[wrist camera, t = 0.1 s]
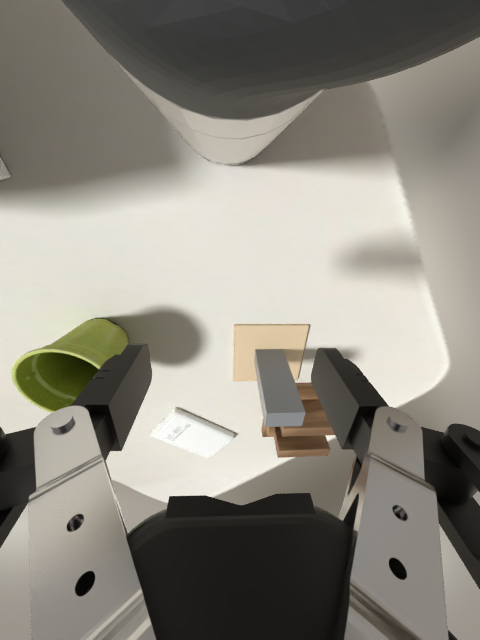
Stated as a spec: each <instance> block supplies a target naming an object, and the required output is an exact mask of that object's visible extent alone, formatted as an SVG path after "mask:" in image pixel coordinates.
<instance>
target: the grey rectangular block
mask: <svg viewBox="0 0 480 640" xmlns="http://www.w3.org/2000/svg"><path fill="white" fill-rule="evenodd" d="M254 363H255V369H256V375H257V382H258V388H259V394H260V400H261V406H262V412H263V418H264V425H265V427H281V426H302V424H303V420H304V416H305V413H306V412H305V409H304V406H303V404H302V401H301V398H300V395H299V392H298V389H297V387H296V384H295V381H294V378H293V375H292V372H291V370H290V367H289V364H288V361H287V358H286V355H285V353H284V350H283V349H255V358H254Z"/></svg>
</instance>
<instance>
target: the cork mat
mask: <svg viewBox="0 0 480 640" xmlns="http://www.w3.org/2000/svg"><path fill="white" fill-rule="evenodd" d="M308 328H309V325H308V324H281V325H234V362H233V381H257V375H256V369H255V363H254V358H255V349H283V350H284V353H285V355H286V358H287V361H288V364H289V367H290V370H291V372H292V375H293V378H294V380H297V379H298V374H299V370H300V365H301V360H302V356H303V351H304V347H305V342H306V337H307V333H308Z"/></svg>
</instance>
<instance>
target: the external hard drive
mask: <svg viewBox="0 0 480 640" xmlns="http://www.w3.org/2000/svg"><path fill="white" fill-rule="evenodd" d="M150 436H151V437H154V438H157V439H159V440H162V441H165V442H167V443H170V444H172V445H175V446H178V447H180V448H183V449H186V450H188V451H191V452H193V453H196V454H199V455H201V456H204V457H207V458H210V457H211V456H213V455H214V454H215V453H216V452H218V451H219V450H220V449H221V448H223V447H224V446H225V445H227V444H228V443H229V442H230V441H232V440H233V439H234V433H233V432H230V431H228V430H226V429H224V428H221V427H219V426H217V425H215V424H212V423H210V422H208V421H206V420H203V419H201V418H199V417H197V416H194V415H192V414H190V413H188V412H185V411H183V410H181V409H179V408H176V407H175V408H174V409H173V410H172V411H171V412H170V413H169V414H168V415H167V416H166V418H165V420H164V421H163V422H161V423H160V424H159V425H158V426H157V427H156V428H155V429H154V430H153V431H152V432H151V435H150Z"/></svg>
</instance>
